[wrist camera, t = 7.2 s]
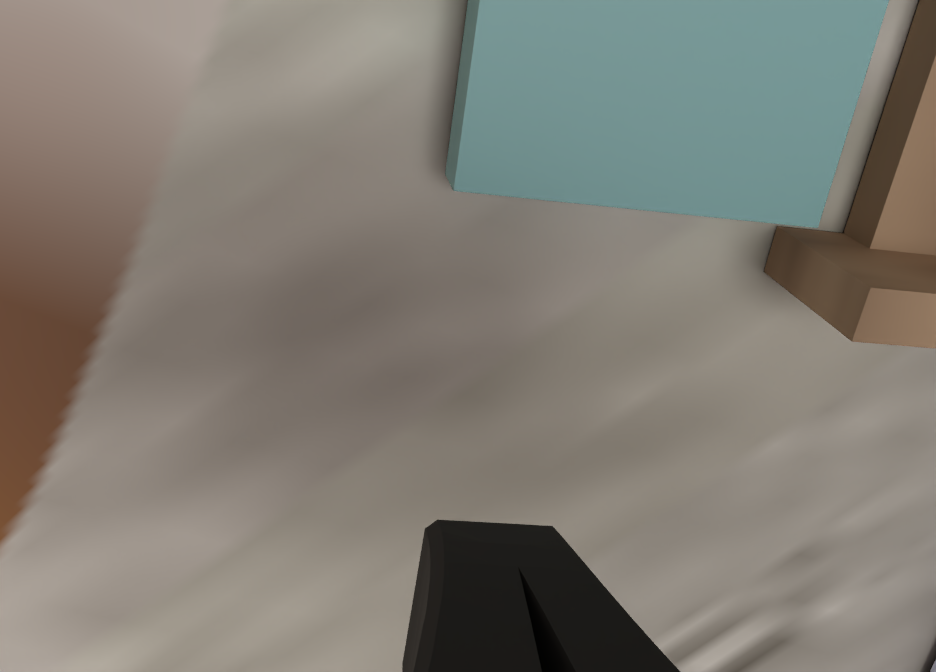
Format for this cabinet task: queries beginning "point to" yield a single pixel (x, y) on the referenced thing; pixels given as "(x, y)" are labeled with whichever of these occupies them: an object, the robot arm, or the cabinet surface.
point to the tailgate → (661, 103)
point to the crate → (880, 220)
